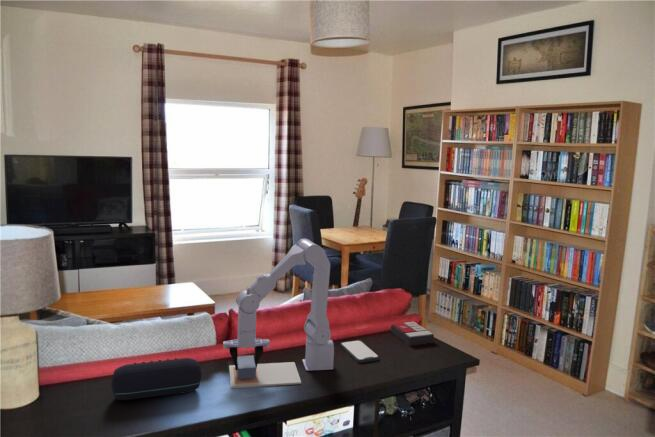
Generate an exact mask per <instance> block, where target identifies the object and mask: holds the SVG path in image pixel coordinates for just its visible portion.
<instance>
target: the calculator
mask: <svg viewBox="0 0 655 437" xmlns="http://www.w3.org/2000/svg"><path fill="white" fill-rule="evenodd" d="M390 332H391V333H392V334H394V335H395V336H396V337H397V338H398V339H400V340H402V341H403V343H405V344H406V345H407V346H408V347H414V345H415V346H422V345H421V344H423V345H428V344H427V343H430V344H434V340H435V339H434V337H435V336H434V334H433V333H432V332H431V331H429V330H427V328H425V327H424V326H421V324H419V323H417V322H416V321H408V322H398V323H392V324H390Z"/></svg>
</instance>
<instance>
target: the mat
mask: <svg viewBox="0 0 655 437" xmlns="http://www.w3.org/2000/svg"><path fill="white" fill-rule="evenodd" d="M228 370H229V371H228V372H229V382H230V389H240V388H259V387H273V386H274V387H276V386H290V385H302V380H301V377H300V375H299V371H298V369H297V366H296V363H295V362H294V361H291V362H290V361H288V362H270V363H258V364H257V369H256V378H243V379H238V374H237V370H235V364H232V365H228Z"/></svg>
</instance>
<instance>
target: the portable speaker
mask: <svg viewBox="0 0 655 437" xmlns="http://www.w3.org/2000/svg"><path fill="white" fill-rule="evenodd" d="M201 378H202V369H201V366H200V363H199V361H198V360H197V359H194V358H189V357H186V358H185V357H184V358H174V359H173V358H172V359H168V358H167V359H164V360H155V361H153V360H151V361H148V362H145V361H142V362H138V363H137V362H134V363H130V364H125V365H122V366H119V367H117V368H116V369H115V370H114V371H113V374H112V377H111V385H110V386H111V390H112V393H113V396H114V398H115V400H118V401H132V400H138V399H146V398H154V397H162V396H168V395H169V396H170V395H177V394H185V393H189V392H192V391H193V392H194V391H196V390H197V389H199V387H200V385H201V384H200V383H201Z"/></svg>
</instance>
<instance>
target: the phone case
mask: <svg viewBox="0 0 655 437" xmlns="http://www.w3.org/2000/svg"><path fill="white" fill-rule="evenodd" d="M340 347H341V348H342V349H343V350H344V351H345V352H346V353H347V354H348V355H349V356H350V357H351V358H352V359H353V360H354V361H355V362H357V363H358V364H364V363H369V362H377V361H379V359H380V356H379V355H378V354H377V353H376V352H374V350H372V348H370V347H369V346H367V345H366V344H365V343H364V342H362V340H360V339H359V340H358V339H357V340H352V341H344V342H340Z"/></svg>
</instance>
